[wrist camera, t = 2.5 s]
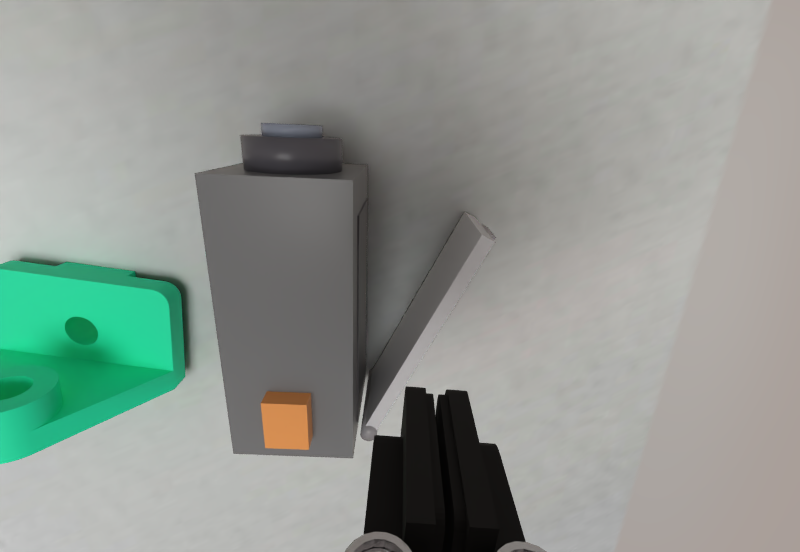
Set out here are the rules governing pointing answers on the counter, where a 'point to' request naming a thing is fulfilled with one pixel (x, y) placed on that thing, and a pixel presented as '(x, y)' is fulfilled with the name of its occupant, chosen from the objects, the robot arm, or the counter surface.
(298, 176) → the camera body
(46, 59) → the counter surface
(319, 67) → the counter surface
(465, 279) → the door
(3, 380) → the camera mount
